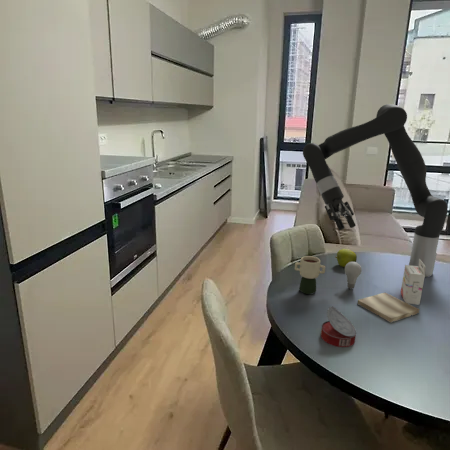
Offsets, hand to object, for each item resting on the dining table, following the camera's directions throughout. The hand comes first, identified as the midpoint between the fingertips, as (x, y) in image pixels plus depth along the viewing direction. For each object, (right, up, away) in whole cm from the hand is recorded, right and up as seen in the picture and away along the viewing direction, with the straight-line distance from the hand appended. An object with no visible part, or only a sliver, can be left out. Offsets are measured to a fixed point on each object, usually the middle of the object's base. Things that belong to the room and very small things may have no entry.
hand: (347, 228), depth 143 cm
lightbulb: (+2, -24, +2) cm, 24 cm away
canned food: (-13, -33, -30) cm, 46 cm away
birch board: (+10, -28, -12) cm, 32 cm away
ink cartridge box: (+21, -26, -4) cm, 34 cm away
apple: (+6, -17, +25) cm, 31 cm away
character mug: (-16, -24, -1) cm, 29 cm away
